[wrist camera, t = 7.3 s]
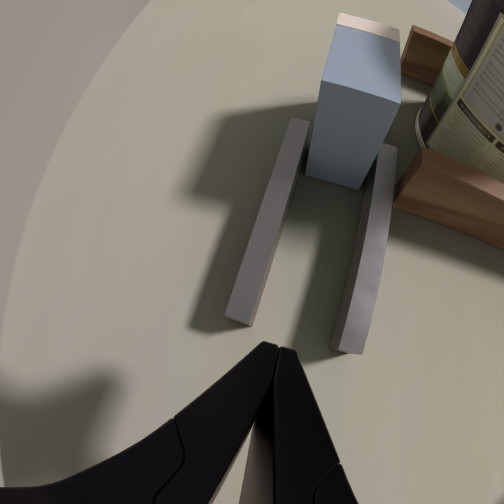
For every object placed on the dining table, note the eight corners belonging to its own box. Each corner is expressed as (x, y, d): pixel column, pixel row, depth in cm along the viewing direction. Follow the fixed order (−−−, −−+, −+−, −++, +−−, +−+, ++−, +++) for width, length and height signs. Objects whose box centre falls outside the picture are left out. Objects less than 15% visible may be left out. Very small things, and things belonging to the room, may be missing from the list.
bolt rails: (348, 353, 16) (362, 354, 13) (230, 319, 17) (224, 315, 14) (385, 168, 19) (397, 147, 16) (289, 140, 20) (291, 116, 17)
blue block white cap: (358, 190, 18) (401, 103, 11) (304, 175, 19) (321, 79, 11) (370, 113, 20) (398, 29, 13) (324, 100, 21) (339, 12, 13)
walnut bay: (537, 265, 16) (578, 245, 11) (390, 206, 18) (422, 164, 13) (517, 122, 20) (540, 94, 15) (398, 65, 22) (412, 24, 17)
